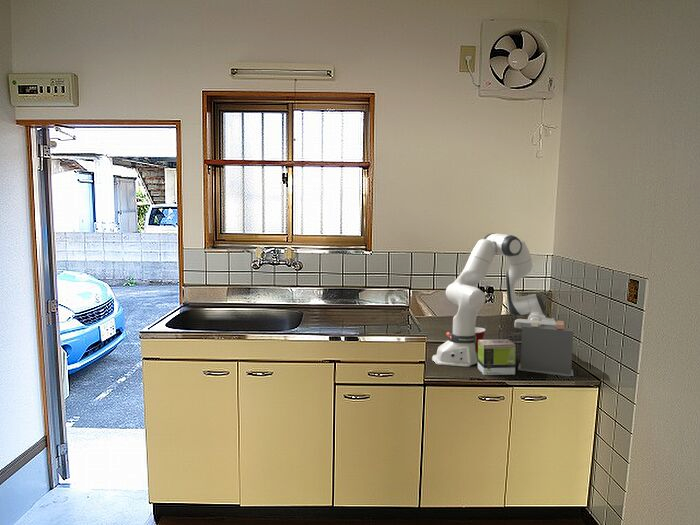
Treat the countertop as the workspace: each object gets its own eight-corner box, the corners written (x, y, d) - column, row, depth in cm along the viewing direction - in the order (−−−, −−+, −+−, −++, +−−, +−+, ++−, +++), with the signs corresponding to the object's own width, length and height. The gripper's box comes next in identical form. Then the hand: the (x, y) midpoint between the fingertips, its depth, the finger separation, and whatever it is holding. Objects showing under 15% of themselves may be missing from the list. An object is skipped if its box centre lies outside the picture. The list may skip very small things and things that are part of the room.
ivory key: (529, 337, 226) (530, 322, 225) (530, 332, 235) (531, 317, 234) (538, 338, 224) (539, 322, 223) (539, 333, 234) (540, 318, 233)
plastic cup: (462, 347, 265) (463, 326, 263) (482, 348, 264) (483, 326, 262) (465, 353, 254) (466, 331, 253) (486, 353, 253) (487, 331, 252)
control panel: (518, 369, 227) (519, 326, 225) (519, 365, 235) (520, 323, 232) (573, 376, 218) (575, 332, 216) (572, 371, 225) (575, 328, 223)
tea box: (507, 368, 230) (508, 338, 228) (515, 375, 220) (516, 344, 218) (476, 368, 230) (477, 338, 228) (483, 375, 220) (484, 344, 218)
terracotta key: (554, 339, 221) (555, 324, 221) (555, 334, 231) (555, 319, 230) (564, 340, 220) (565, 325, 219) (564, 335, 229) (564, 320, 228)
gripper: (515, 314, 251) (513, 320, 238) (557, 318, 243) (557, 324, 230) (514, 326, 252) (512, 332, 239) (556, 330, 243) (556, 337, 231)
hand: (535, 328), depth 234 cm, fingers closed
